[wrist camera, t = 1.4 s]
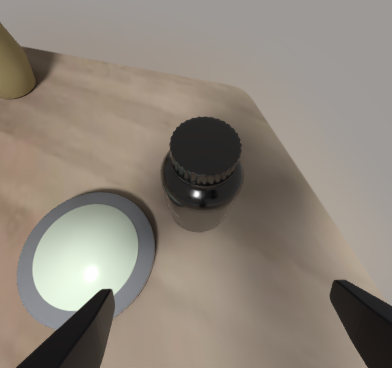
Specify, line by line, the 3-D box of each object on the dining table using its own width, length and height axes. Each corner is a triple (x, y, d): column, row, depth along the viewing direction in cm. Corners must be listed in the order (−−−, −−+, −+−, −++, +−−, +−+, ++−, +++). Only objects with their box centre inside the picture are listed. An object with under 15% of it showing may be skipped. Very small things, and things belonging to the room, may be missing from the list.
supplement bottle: (158, 217, 23) (130, 161, 12) (185, 171, 26) (181, 92, 15) (213, 245, 22) (235, 209, 11) (235, 193, 25) (270, 124, 14)
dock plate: (60, 366, 17) (50, 372, 16) (6, 245, 22) (-5, 243, 20) (180, 261, 21) (179, 260, 20) (115, 176, 25) (111, 170, 24)
